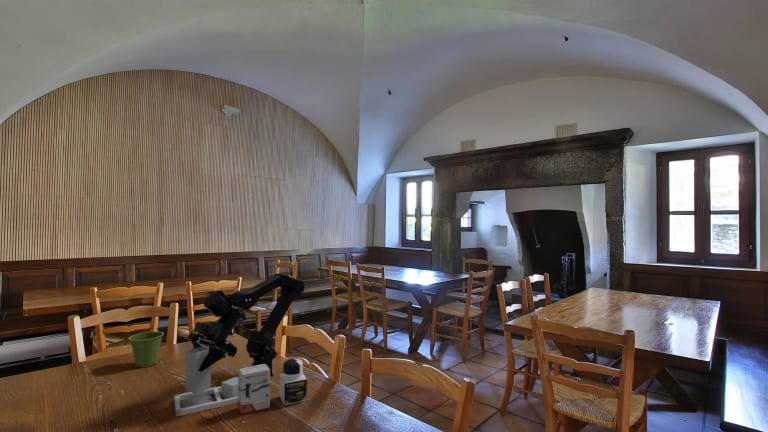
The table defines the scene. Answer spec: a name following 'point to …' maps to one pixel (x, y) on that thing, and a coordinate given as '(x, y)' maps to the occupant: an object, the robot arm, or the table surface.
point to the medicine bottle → (292, 382)
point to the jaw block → (197, 371)
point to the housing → (201, 401)
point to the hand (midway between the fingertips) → (194, 369)
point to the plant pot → (146, 348)
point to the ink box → (253, 388)
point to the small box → (229, 388)
